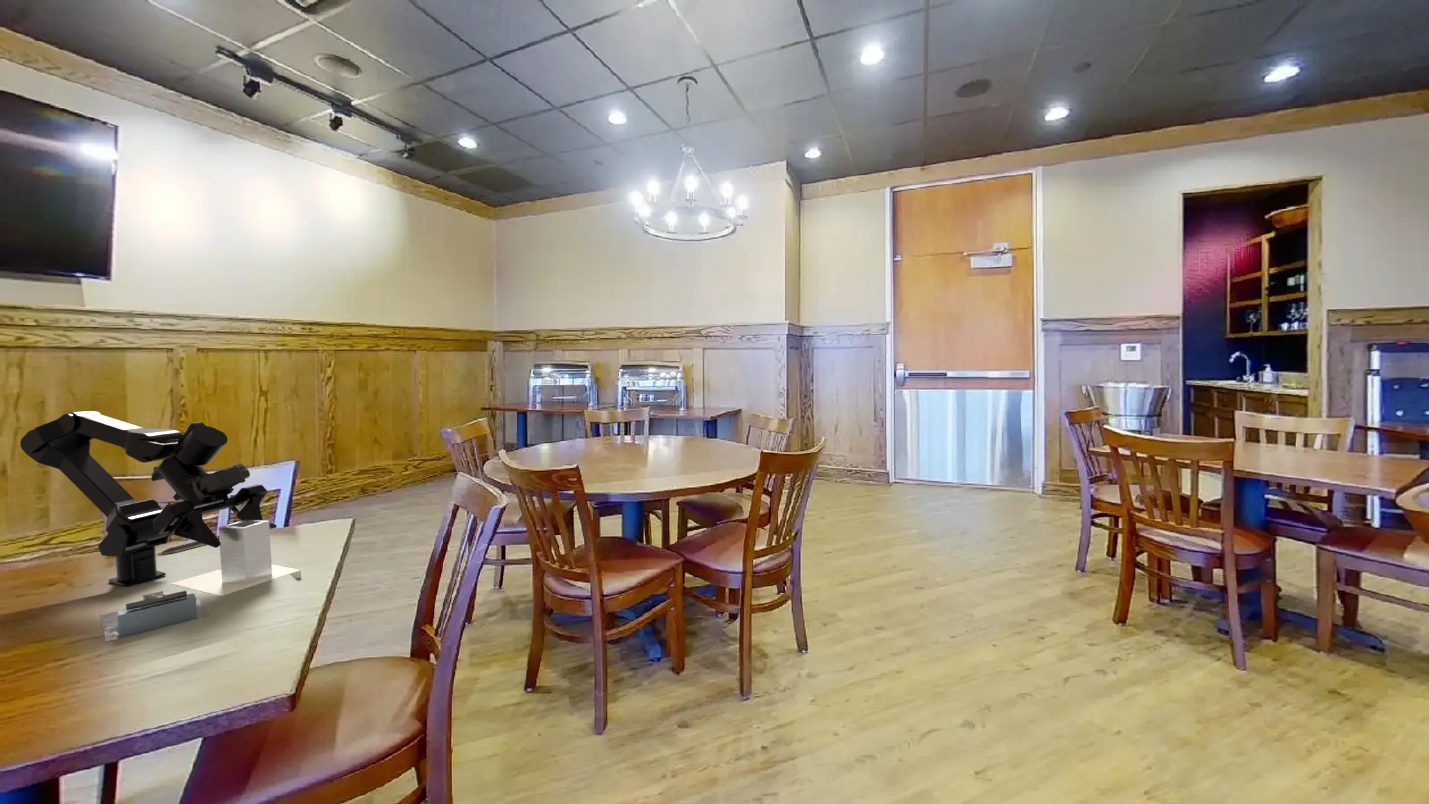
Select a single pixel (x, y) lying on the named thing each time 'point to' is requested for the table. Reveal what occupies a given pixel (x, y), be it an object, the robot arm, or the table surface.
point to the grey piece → (152, 614)
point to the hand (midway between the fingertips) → (242, 538)
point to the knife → (192, 545)
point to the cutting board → (215, 586)
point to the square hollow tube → (245, 551)
